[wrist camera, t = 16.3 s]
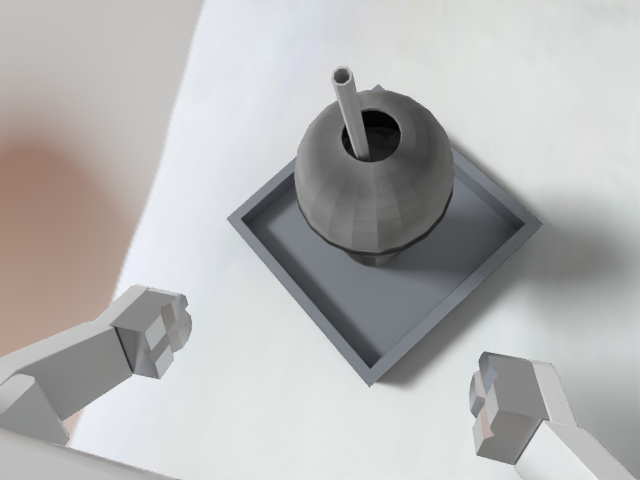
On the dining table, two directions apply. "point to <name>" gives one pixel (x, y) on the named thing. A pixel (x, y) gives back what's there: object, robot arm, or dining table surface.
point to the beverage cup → (373, 172)
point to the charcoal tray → (392, 278)
